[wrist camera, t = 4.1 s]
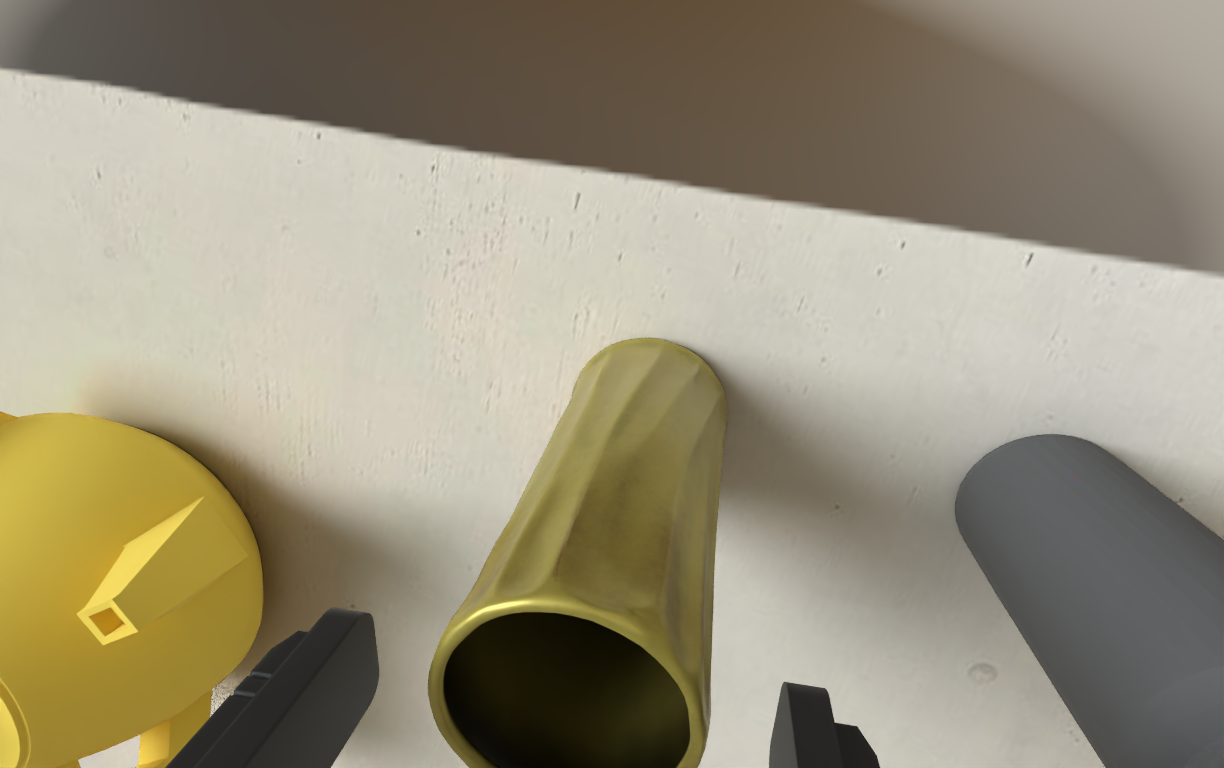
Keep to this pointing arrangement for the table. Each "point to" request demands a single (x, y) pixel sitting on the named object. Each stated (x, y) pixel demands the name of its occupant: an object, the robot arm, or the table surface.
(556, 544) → the vase
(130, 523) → the teapot
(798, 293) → the table surface
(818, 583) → the table surface
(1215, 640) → the bottle
